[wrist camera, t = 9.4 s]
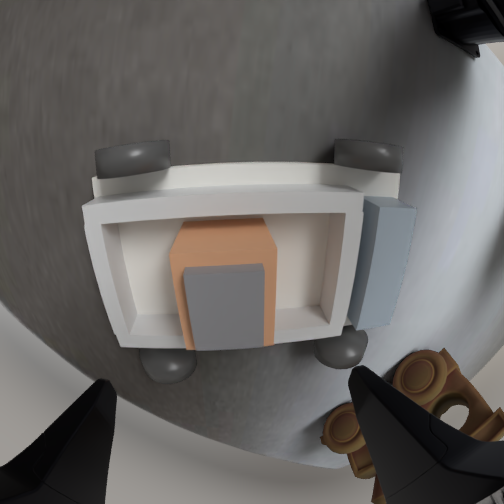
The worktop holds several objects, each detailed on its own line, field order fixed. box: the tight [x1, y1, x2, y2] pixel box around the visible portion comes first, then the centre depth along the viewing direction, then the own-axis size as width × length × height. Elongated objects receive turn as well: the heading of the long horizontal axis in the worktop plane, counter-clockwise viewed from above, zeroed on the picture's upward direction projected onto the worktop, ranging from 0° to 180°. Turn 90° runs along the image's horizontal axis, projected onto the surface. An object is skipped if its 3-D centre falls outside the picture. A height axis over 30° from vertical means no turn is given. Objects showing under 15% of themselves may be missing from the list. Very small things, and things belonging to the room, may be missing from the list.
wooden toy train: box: [320, 348, 504, 504], centre depth 22 cm, size 20×11×17 cm, turn 135°
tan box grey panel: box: [169, 218, 277, 351], centre depth 15 cm, size 5×6×6 cm
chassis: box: [82, 139, 417, 384], centre depth 17 cm, size 21×16×4 cm
